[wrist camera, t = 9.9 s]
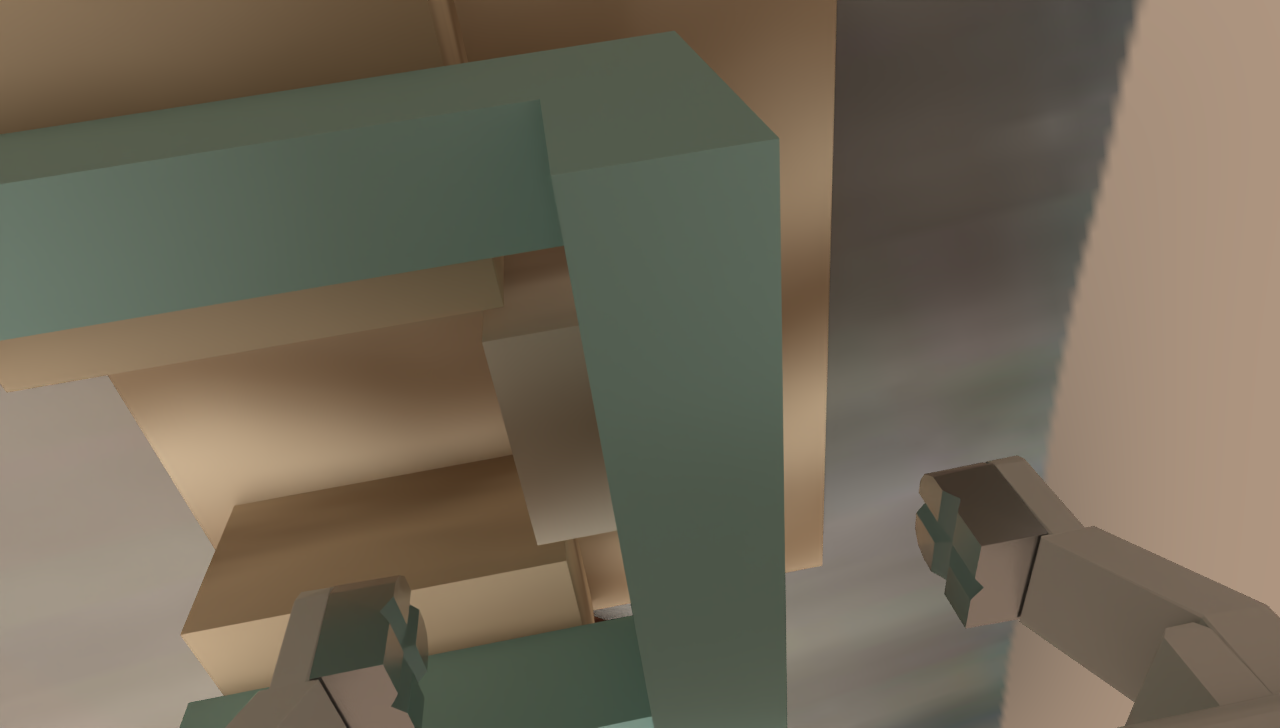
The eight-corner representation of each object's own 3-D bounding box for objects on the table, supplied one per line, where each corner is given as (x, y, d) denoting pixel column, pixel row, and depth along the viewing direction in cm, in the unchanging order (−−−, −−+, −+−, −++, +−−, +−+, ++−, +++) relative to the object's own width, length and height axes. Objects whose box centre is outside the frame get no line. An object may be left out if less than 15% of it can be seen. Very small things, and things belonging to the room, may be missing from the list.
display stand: (-116, -78, 13) (-411, -47, 9) (818, -207, 14) (952, -233, 10) (298, 635, 23) (254, 802, 19) (809, 536, 24) (871, 675, 20)
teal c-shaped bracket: (-222, 168, 10) (-721, 381, 6) (674, 30, 11) (779, 138, 7) (223, 746, 18) (139, 1013, 14) (726, 646, 19) (789, 871, 15)
